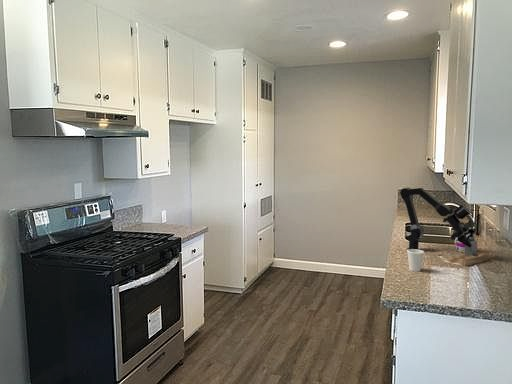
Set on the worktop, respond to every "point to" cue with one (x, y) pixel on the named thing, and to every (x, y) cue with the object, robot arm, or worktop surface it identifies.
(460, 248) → the sparkling drink can
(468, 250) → the grey knobbed block
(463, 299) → the worktop surface
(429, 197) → the robot arm
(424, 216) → the worktop surface
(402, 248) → the worktop surface
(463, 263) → the wooden dish rack
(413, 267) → the dixie cup
